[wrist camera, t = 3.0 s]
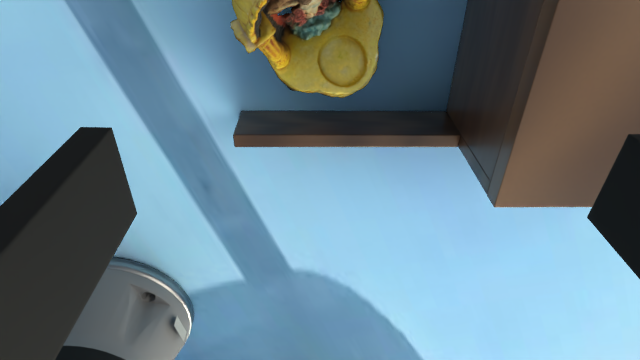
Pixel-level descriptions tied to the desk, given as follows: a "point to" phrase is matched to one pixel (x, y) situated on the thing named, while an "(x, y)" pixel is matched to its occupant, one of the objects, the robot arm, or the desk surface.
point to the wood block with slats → (509, 102)
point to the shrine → (314, 41)
